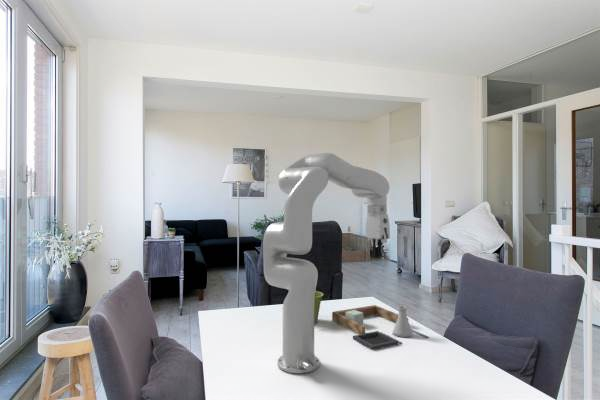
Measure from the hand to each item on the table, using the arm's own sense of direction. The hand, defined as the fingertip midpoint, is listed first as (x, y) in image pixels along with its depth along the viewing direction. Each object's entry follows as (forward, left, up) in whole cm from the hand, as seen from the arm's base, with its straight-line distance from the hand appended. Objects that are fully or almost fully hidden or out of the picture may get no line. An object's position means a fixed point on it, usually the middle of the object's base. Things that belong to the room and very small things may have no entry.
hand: (376, 256), depth 148 cm
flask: (-13, -2, -27) cm, 30 cm away
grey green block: (+4, +8, -27) cm, 29 cm away
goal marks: (-14, -1, -27) cm, 31 cm away
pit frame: (-14, +12, -27) cm, 33 cm away
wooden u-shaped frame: (+2, +2, -27) cm, 27 cm away
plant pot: (+16, +22, -27) cm, 39 cm away
